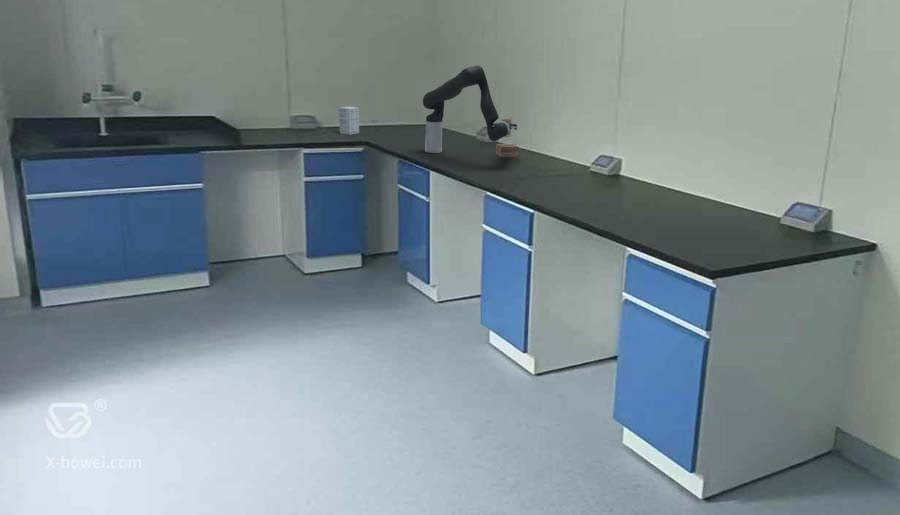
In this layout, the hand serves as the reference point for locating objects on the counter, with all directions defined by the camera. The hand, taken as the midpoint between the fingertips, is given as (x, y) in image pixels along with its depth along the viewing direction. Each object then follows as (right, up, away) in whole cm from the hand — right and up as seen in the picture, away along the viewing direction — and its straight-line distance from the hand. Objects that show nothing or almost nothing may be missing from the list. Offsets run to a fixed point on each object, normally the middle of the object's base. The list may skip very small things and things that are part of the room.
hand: (507, 124), depth 406 cm
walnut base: (0, -16, +9) cm, 18 cm away
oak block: (-1, -7, -1) cm, 7 cm away
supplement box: (-98, +8, +78) cm, 125 cm away
